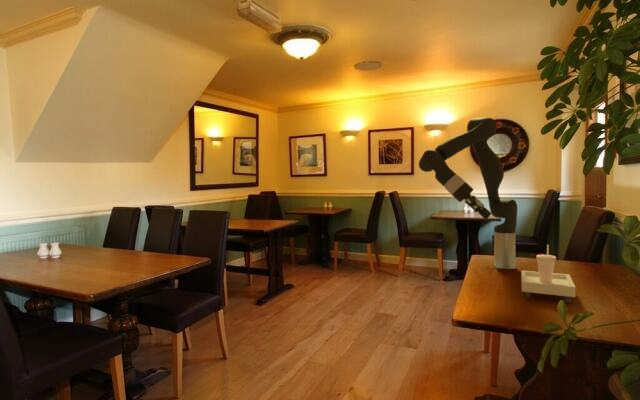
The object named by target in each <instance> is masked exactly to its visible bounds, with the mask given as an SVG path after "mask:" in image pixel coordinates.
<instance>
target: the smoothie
mask: <svg viewBox="0 0 640 400" xmlns="http://www.w3.org/2000/svg"><path fill="white" fill-rule="evenodd" d="M549 250H550V245H549V244H547V245H546V254H537V255H536V257H535V259H537V260H536V261H537V262H536V263H537V267H538V268H537V271H538V272H539V279H540V282H542V283H551V282H552V276H553V273H554V268H555V264H556V260H557V257H556V256H555V255H551V254H549V252H550V251H549Z"/></svg>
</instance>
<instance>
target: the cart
mask: <svg viewBox="0 0 640 400" xmlns="http://www.w3.org/2000/svg"><path fill="white" fill-rule="evenodd" d="M520 273H521V278H520V279H521V292H525V299H531V294H533V293H534V294H542V295H552V296H559V297H564V303H565V302H566V303H567V304H570V303H571V298H576V290H577V289H576V285H575V284H574V282H573V279H572V277H571V275H570V274H569V273H567V274H566V273H557V272H553V276H552V282H551V283H542V282H540V279H539V271H533V270H521V271H520Z"/></svg>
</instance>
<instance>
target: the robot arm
mask: <svg viewBox="0 0 640 400" xmlns="http://www.w3.org/2000/svg"><path fill="white" fill-rule="evenodd" d="M497 128H498V125H497V122H496V121H495V119H494V118H491V117H474V118H471V119H469V121H468V123H467V127H466V132H464V133H462V134H459V135H455V136H454V137H451V138H449V139H447V140H446V141H443V142H442V143H440V144H438V145H437V147H435V148H434V149H427V150H425V151H424V152H423V154H422V155H421V158H420V159H419V161H418V167H419V169H420V170H421V171H423V172H425V173H429V172H435V175H434V177H435V179H436V180H437V182H438V183H440V184H441V186H443V187H444V189H445V190H446V191H447V192H448V193H449V194H450V195H451V196H452V197H453V198H454V199H455V200H456V201H458V202H459V203H461V202H463V201H464V203H465V204H467V205H468V206H469V207H470V208H471V209H472V210H473V211H474V213H477V214H479V215H480V216H481V217H482V218H483V219H484V220H488V218H490V216H491V215H492V216H493V218H498V219H499V218H500V219H504V222H503V223H500V224H496V225H494V228H493V236H494V237H493V242H494V243H493V251H494V252H493V266H494V268H496V269H500V270H514V269H516V230H517V229H516V228H517V221H518V220H517V219H518V204H517V201H516V200H515V199H512V198H511V199H510V198H500V194H499V189H500V185H501V183H502V182H503V179H504V176H505V173H504V168H503V164H502V161H501V160H500V158H499V156H498V155H497V154H496V153H495V152H494V150H493V149H492V148H491V146H489V144H488V141H487V139H490V138H492V137H494V135H495V133H496V132H497V130H498V129H497ZM471 146H472V147H473V149H474V150H473V151H474V152H475V155H476V159H477V161H478V164H479V169H480V173H481V176H482V179H483V182H484V185H485V190H486V194H487V200H488V205H489V209H490V211H489V210H488V209H487V208H486V206H485V205H484V203H482V202H481V200H479V199H478V198H477V196H475V195H472V192H473V191H474V188H473V187H472V185H470V184H468V183H467V182H466V181H465V180H464V179H463V178H462V177H461V176H459V174H457V173H456V172H454V170H452V168H450V167H449V165H448V164H447V162H446V160H448V159H450V158H452V157H454V156H455V155H457V154H458V153H460V152H462V151H464V150H466V149H467V148H469V147H471Z"/></svg>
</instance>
